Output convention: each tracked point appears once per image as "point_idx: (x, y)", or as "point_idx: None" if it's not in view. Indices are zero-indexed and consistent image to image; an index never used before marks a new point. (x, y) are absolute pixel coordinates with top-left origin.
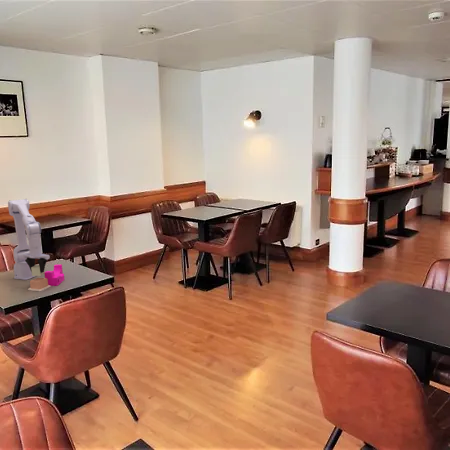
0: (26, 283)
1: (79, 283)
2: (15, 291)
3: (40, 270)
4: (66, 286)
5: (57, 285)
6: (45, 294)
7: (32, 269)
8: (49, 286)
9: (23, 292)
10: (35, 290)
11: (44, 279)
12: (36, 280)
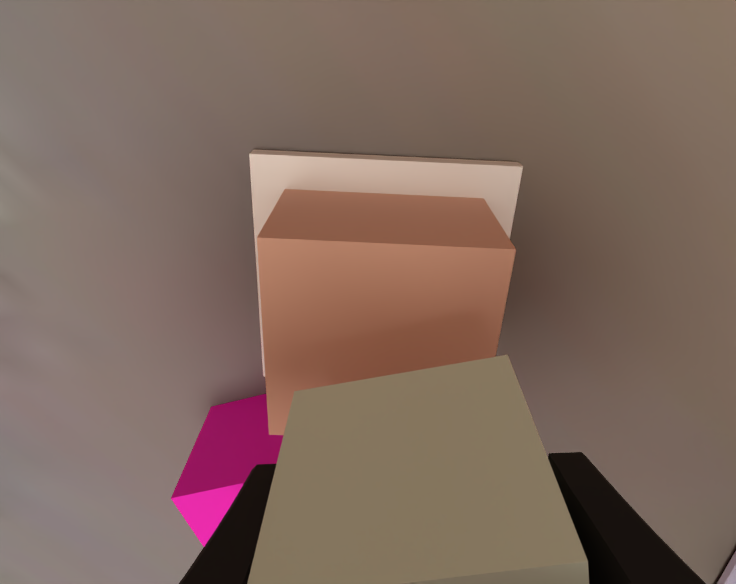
0: (708, 393)
1: (31, 515)
2: (705, 31)
3: (256, 511)
4: (77, 411)
5: (211, 411)
6: (39, 38)
7: (519, 495)
8: (262, 346)
9: (514, 23)
10: (351, 155)
11: (279, 385)
12: (390, 305)
